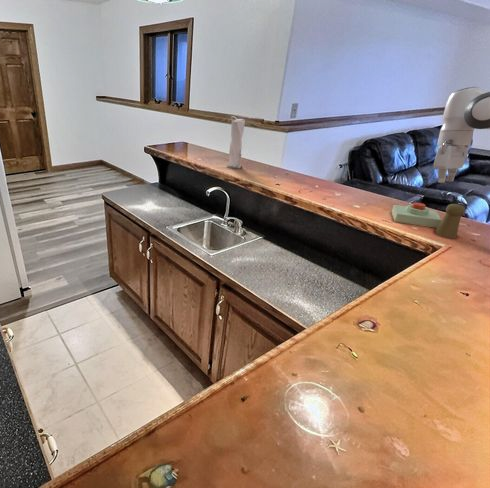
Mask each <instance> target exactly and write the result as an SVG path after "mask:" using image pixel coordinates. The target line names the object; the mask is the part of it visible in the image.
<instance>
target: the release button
mask: <svg viewBox="0 0 490 488" xmlns="http://www.w3.org/2000/svg"><path fill="white" fill-rule="evenodd" d="M411 205H412V208H414V209H419V210H424V209H425V207H427V205H426V204H425V203H423V202H422V203H421V202H413V203H412V204H411Z"/></svg>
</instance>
